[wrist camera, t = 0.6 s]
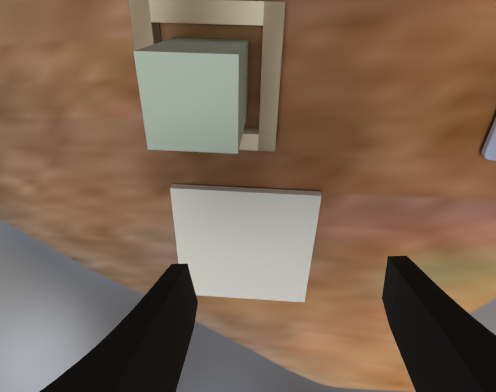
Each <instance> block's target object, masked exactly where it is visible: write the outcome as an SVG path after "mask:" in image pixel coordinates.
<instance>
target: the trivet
mask: <svg viewBox="0 0 496 392" xmlns="http://www.w3.org/2000/svg"><path fill="white" fill-rule="evenodd" d="M170 193H171V201H172V210H173V219H174V227H175V236H176V245H177V253H178V262H179V264H188V267H189V271H190V275H191V278H192V282H193V286H194V290H195V293H196V295H202V296H217V297H232V298H247V299H263V300H278V301H293V302H305V295H306V289H307V283H308V277H309V271H310V265H311V258H312V252H313V246H314V240H315V234H316V228H317V221H318V215H319V209H320V203H321V197H322V196H321V192H320V191H302V190H282V189H263V188H243V187H223V186H204V185H184V184H172V185H171V187H170Z"/></svg>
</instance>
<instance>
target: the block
mask: <svg viewBox="0 0 496 392" xmlns="http://www.w3.org/2000/svg"><path fill="white" fill-rule="evenodd" d="M134 58H135V65H136V72H137V78H138V85H139V92H140V99H141V106H142V113H143V119H144V126H145V133H146V140H147V147H148V150H169V151H190V152H211V153H232V154H238V152H239V147H240V143H241V139H242V135H243V130H244V126H245V122H246V118H247V106H248V61H249V40H244V39H212V38H180V37H174V38H171V39H168V40H165V41H162V42H159V43H156V44H153V45H150V46H147V47H144V48H141V49H138V50H135V51H134Z"/></svg>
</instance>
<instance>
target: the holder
mask: <svg viewBox="0 0 496 392" xmlns="http://www.w3.org/2000/svg"><path fill="white" fill-rule="evenodd" d="M128 3H129V10H130V17H131V24H132V31H133V38H134V45H135V50H138V49H141V48H144V47H147V46H150V45H153V44H156V43H159V42H161V34H160V25H159V22H161V23H195V24H229V25H263V40H262V65H261V89H260V113H259V127H248V126H244V130H243V135H242V139H241V143H240V147H239V150H254V151H275V144H276V130H277V116H278V102H279V88H280V73H281V59H282V45H283V31H284V17H285V2H270V1H232V0H128Z"/></svg>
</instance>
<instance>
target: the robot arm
mask: <svg viewBox="0 0 496 392" xmlns="http://www.w3.org/2000/svg"><path fill="white" fill-rule="evenodd" d="M481 154H482V156H483V157H484V158H486V159H487V160H493V161H496V118H495V120H494V123H493V125H492V127H491V130H490V132H489V135H488V137H487V139H486V142H485V144H484V146H483V149H482V152H481ZM382 299H383V303H384V307H385V311H386V315H387V318H388V322H389V325H390V328H391V331H392V333H393V336H394V338H395V341H396V343H397V346H398V348H399V351H400V353H401V356H402V358H403V361H404V363H405V366H406V368H407V371H408V373H409V376H410V378H411V381H412V383H413V385H414V388H415V390H416V392H496V335H494V334H493V333H492V332H490V331H489V330H488V329H487V328H485V327H484V326H483V325H482V324H481V323H479V322H478V321H477V320H476V319H474V318H473V317H472V316H471V315H470V314H469V313H467V312H466V311H465V310H464V309H463V308H462V307H460V306H459V305H458V304H457V303H456V302H455V301H454V300H453V299H452V298H450V297H449V296H448V295H447V294H446V293H445V292H444V291H443V290H442V289H441V288H439V287H438V286H437V285H436V284H435V283H434V282H433V281H432V280H431V279H430V278H429V277H428V276H427V275H426V274H425V273H424V272H423V271H422V270H421V269H420V268H419V267H418V266H417V265H416V264H415V263H414V262H412V261H411V260H410V259H409V258H408V257H407V256H388V260H387V267H386V274H385V281H384V288H383V296H382ZM197 303H198V301H197V297H196V293H195V290H194V286H193V282H192V278H191V275H190V271H189V267H188V264H171V266H170V267H169V268H168V269H167V270H166V271H165V272H164V274H163V275H162V276H161V277H160V278H159V280H158V281H157V282H156V283H155V284H154V286H153V287H152V288H151V289H150V290H149V291H148V293H147V294H146V295H145V296H144V297H143V298H142V299H141V301H140V302H139V303H138V304H137V305H136V306H135V307H134V309H133V310H132V311H131V312H130V313H129V314H128V315H127V316H126V317H125V318H124V319H123V320H122V321H121V322H120V323H119V325H117V327H116V328H115V329H114V330H113V331H112V332H111V333H110V334H109V335H108V336H106V338H104V339H103V340H102V341H101V342H100V343H99V344H98V345H97V346H96V347H95V348H94V349H92V350H91V351H90V352H89V353H88V354H87V355H86V356H84V357H83V358H82V359H81V360H80V361H78V362H77V363H76V364H75V365H73V366H72V367H71V368H70V369H68V370H67V371H66V372H65V373H64V374H62V375H61V376H60V377H59V378H58V379H56V380H55V381H53V382H52V383H51V384H49V385H48V386H47V387H46V388H44V389H43V390H41V391H40V392H176V388H177V385H178V381H179V378H180V374H181V371H182V367H183V364H184V361H185V357H186V354H187V350H188V347H189V343H190V339H191V335H192V332H193V328H194V323H195V317H196V310H197Z"/></svg>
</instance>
